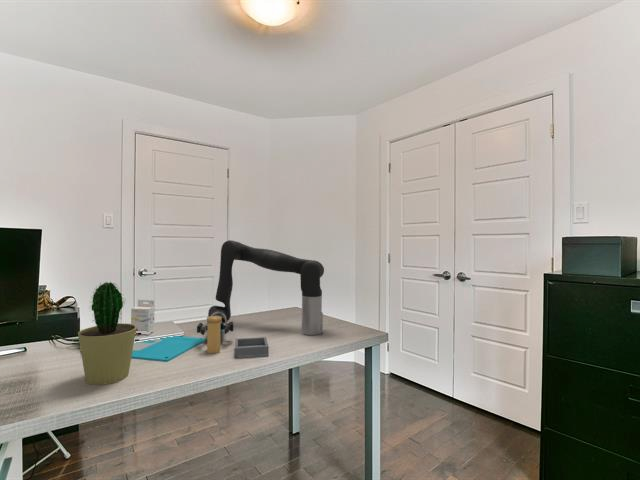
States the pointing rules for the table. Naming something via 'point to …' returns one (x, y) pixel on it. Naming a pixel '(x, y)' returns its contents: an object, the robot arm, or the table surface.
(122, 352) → the potted cactus
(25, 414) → the table surface
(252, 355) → the housing
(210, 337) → the tan capped post
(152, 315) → the ink cartridge box
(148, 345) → the teal flat board
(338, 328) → the table surface
